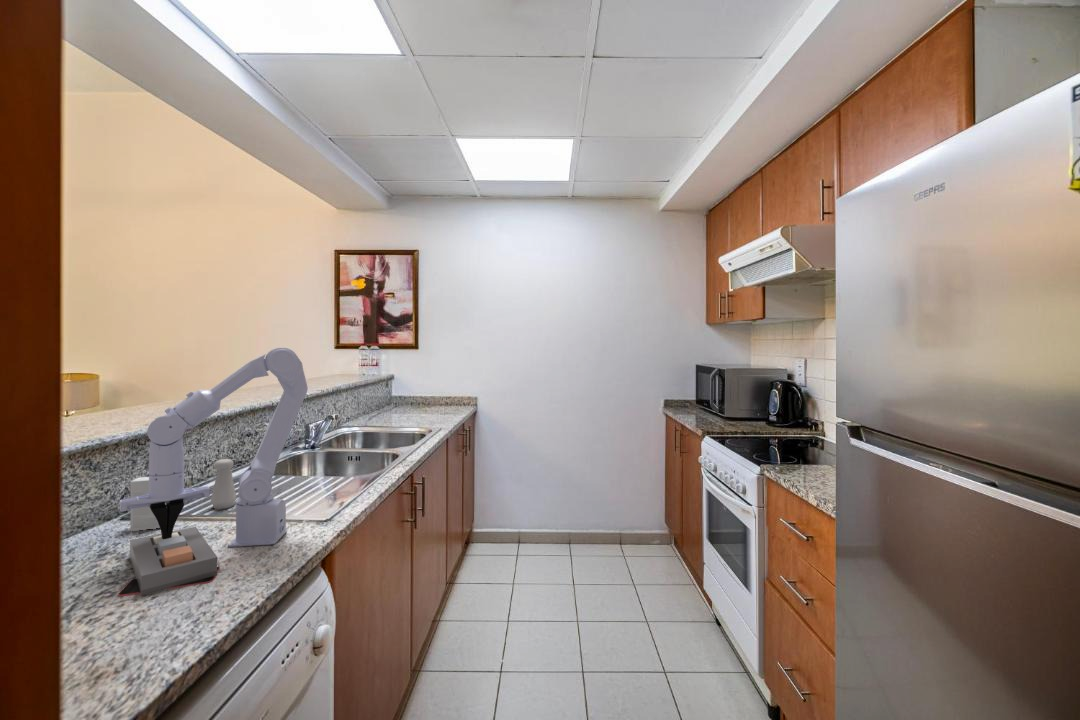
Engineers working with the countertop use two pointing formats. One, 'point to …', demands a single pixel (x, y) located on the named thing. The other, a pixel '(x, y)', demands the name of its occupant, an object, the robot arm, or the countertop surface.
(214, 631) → the countertop surface
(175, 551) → the key terracotta
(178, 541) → the key slate
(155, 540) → the key cream
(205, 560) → the slotted grey tray
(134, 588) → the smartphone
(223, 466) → the salt shaker
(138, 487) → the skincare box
